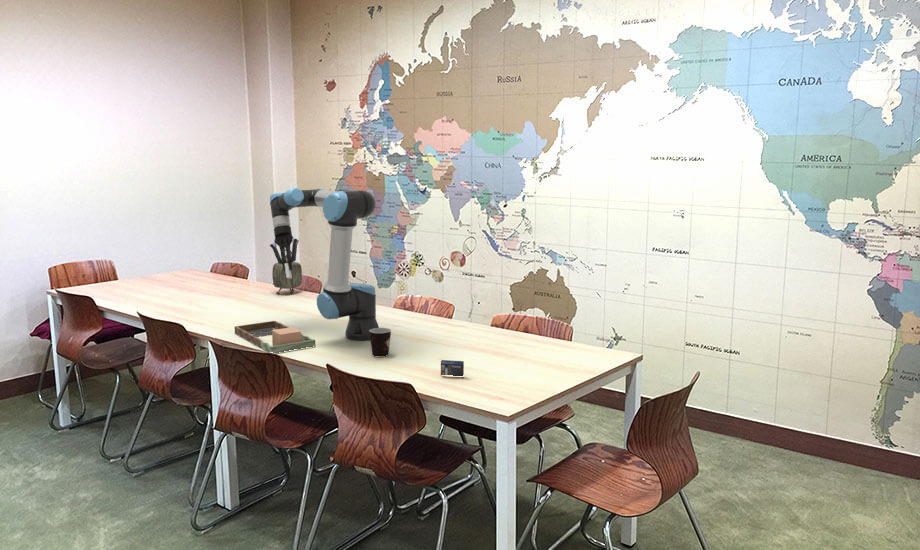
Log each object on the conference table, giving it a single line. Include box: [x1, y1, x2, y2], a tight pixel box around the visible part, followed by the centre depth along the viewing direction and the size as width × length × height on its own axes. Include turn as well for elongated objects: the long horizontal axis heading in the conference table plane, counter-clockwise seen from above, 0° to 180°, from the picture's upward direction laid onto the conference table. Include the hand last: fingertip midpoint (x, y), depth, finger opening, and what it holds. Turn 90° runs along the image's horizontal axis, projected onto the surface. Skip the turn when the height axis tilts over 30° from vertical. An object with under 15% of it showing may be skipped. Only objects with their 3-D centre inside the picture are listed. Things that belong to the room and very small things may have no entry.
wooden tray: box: [234, 320, 316, 354], centre depth 328 cm, size 42×19×3 cm, turn 36°
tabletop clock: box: [271, 249, 303, 296], centre depth 424 cm, size 14×9×25 cm, turn 144°
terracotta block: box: [271, 326, 302, 346], centre depth 317 cm, size 9×9×7 cm
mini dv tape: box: [440, 359, 465, 376], centre depth 277 cm, size 8×2×6 cm, turn 80°
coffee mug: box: [369, 327, 392, 357], centre depth 304 cm, size 12×9×10 cm
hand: (289, 277), depth 338 cm, fingers closed
